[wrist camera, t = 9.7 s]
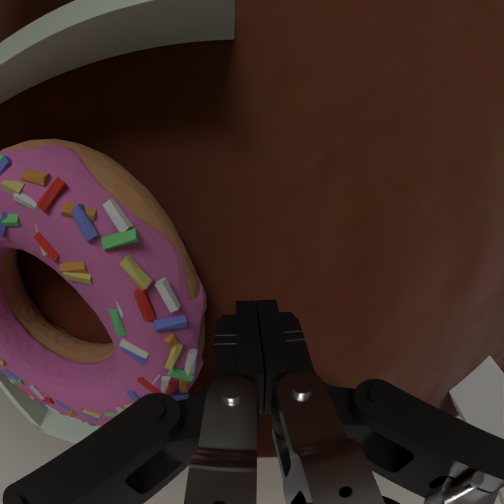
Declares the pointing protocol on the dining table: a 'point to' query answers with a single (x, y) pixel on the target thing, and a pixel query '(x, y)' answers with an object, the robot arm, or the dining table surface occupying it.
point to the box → (85, 52)
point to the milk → (482, 400)
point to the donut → (95, 283)
